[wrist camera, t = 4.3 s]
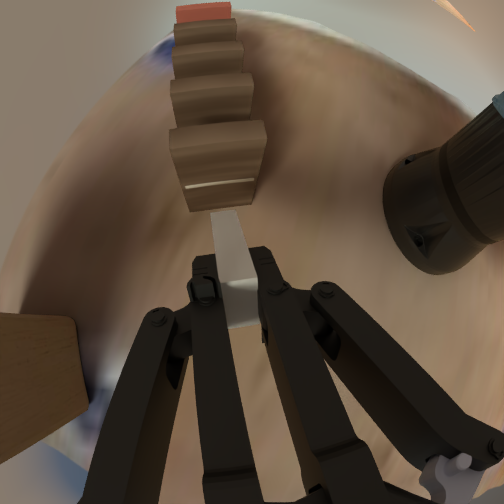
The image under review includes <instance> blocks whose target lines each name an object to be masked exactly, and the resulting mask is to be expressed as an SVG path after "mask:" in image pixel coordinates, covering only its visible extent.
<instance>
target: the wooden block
mask: <svg viewBox="0 0 504 504" xmlns="http://www.w3.org/2000/svg"><path fill="white" fill-rule="evenodd" d="M88 407H89V400H88V396H87V391H86V387H85V382H84V377H83V372H82V366H81V360H80V354H79V347H78V340H77V332H76V325H75V322H74V320H73V319H72V318H70V317H68V316H58V315H32V314H14V313H0V464H1V463H3V462H5V461H7V460H8V459H10V458H12V457H13V456H15V455H17V454H19V453H20V452H22V451H23V450H25V449H27V448H28V447H30V446H32V445H33V444H35V443H37V442H38V441H40V440H42V439H43V438H45V437H46V436H48V435H50V434H51V433H53V432H54V431H56V430H57V429H59V428H61V427H62V426H64V425H65V424H67V423H68V422H70V421H71V420H73V419H74V418H76V417H78V416H79V415H81V414H82V413H84V412H85V411H87V410H88Z"/></svg>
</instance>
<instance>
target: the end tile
mask: <svg viewBox="0 0 504 504" xmlns="http://www.w3.org/2000/svg"><path fill="white" fill-rule="evenodd" d="M176 19H177V23H184V22H192V21H201V20H213V19H231V4H230V2H215V3H203V4H193V5H184V6H177V7H176Z"/></svg>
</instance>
